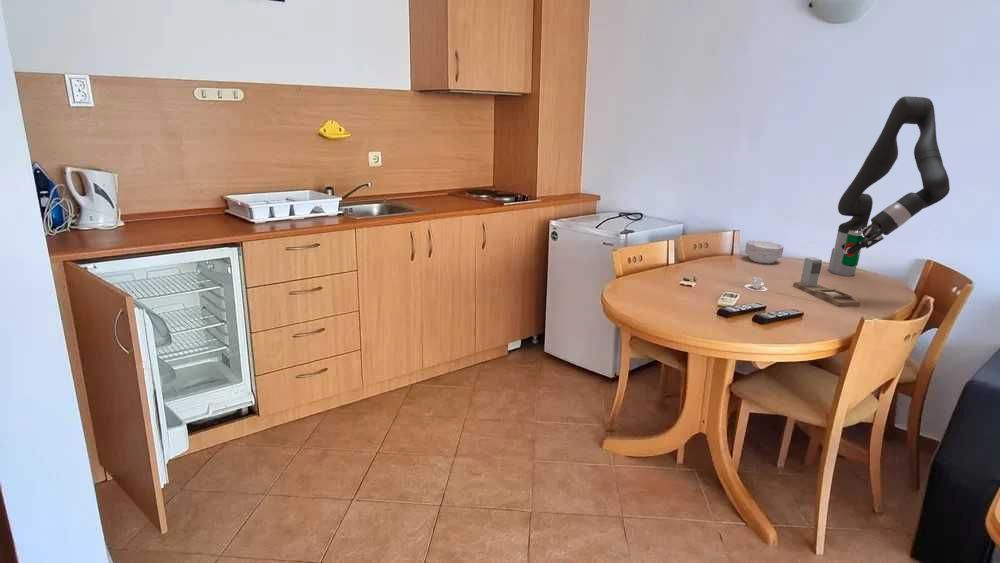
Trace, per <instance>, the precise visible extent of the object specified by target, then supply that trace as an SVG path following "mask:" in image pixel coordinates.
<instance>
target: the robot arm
mask: <svg viewBox="0 0 1000 563" xmlns="http://www.w3.org/2000/svg"><path fill="white" fill-rule="evenodd" d="M903 125H916V126H918V129H919V132H920V134H919V137H918V139H917V142H916V143H915V146H914V148H913V149H914V150H913V156H914V160H915V164H916V167H917V170H918V171H919V173H920V179H921V183H922V189H920V190H918V191H916V192H908V193H906V194H904V195H903V196H902V197H901V198H899V199H897V200H896V201H895V202H893V203H892V204H889V205H888V206H887V207H885V208H884V209H882V210H880V212H878V213H877V214H876V215H875V216H873V217H872V218H870V217H871V212H872V209H873V202H874V201H873V197H872V196H871V195H870V194H868V193H864V192H865V191H866V190H867V189H868V188H870V187H871V186H872V185H873V184H875V183H877V182H879V181H880V180H882V179H883V178H884V177H885V176H887V174H889V172H890V171H891V170H892V168H893V166H894V165H895V162H896V161H897V160H898V156H899V147H898V138H897V137H898V135H899V132H900V130H901V128H902V127H903ZM937 138H938V137H937V125H936V114H935V106H934V103H933V101H932V100H931V99H930V98H928V97H924V96H923V97H922V96H908V95H907V96H901V97H900V98H899V99H898V100H897V101H896V102H895V103H894V104H893V107H892V109H891V111H890V113H889V115H888V117H887V120H886V122H885V124H884V127H883V128H882V131H881V132H880V134H879V136H878V138H877V140H876V142H875V143H874V145H873V147H872V148H871V150H870V151H869V152H868V155H867V156H866V158H865V159H864V162H863V163H862V166H861V167H860V168H859V170H858V172H857V174H856V176H855V177H854V178H853V180H852V181H851V183H850V184H849V185H848V186H847V188H846V189H845V191H844V192H843V193H842V196H841V197H840V198H839V201H838V205H837V211H838V213H839V214H840V215H842V216H846V217H851V219H849V220H848V221H846V222H842V223H840V224H839V225H838V228H837V229H838V230H837V234H836V239H835V243H834V247H833V248H832V249H831V254H830V259H829V264H828V271H829V272H830V273H832V274H835V275H838V276H845V277H846V276H847V277H848V276H849V277H853V276H855V275H856V270H857V266H855V267H850V266H845V265H843V264H842V263H841V261H842V256H843V251H844V247H845V242H846V237H847V233H848V232H849V231H850V230H856V231H861V232H863V236H862V239H861V240H860V241H859V242H858V243H859V244H858V243H856V244H855V245H853V246H852V247H851V248H849V249H848V251H849V252H850V254H854V253H856V252H857V251H858V250H860V249H861V250H862V249H865V248H866V249H869V248H870V247H872V246H874V245H876V244H878V243H879V242H881V241H883V240H884V239H885V238H884V236H889V235H890V234H891V233H892V232H894V231H896V230H897V229H898V228H900V227H901V226H903V225H904V224H905V223H907V222H908V221H909V220H910V219H911V218H913V217H914V216H915V215H917V214H918V213H920V212H921V211H922V210H924V209H926V208H929V207H930V206H933V205H935V204H937V203H938V202H941V201H942V200H944V198H946V197H947V196H948V195H949V193H950V189H951V188H950V179H949V175H948V173H947V170H946V168H945V166H944V164H943V159H942V155H941V152H940V149H939V145H938V139H937ZM869 219H870V220H869ZM869 221H871V223H870V224H869ZM868 224H869V225H868ZM883 235H884V236H883ZM852 275H853V276H852Z"/></svg>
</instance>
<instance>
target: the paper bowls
mask: <svg viewBox="0 0 1000 563" xmlns="http://www.w3.org/2000/svg"><path fill="white" fill-rule="evenodd" d="M744 251H745V254H747V255H748V258H749V259H750V260H751V261H752V262H755V263H758V264H759V263H760V264H774V263H776V261H777V259H781V258H782V257H783V252H784V245H782V244H780V243H778V242H774V241H767V240H762V239H761V240H760V239H759V240H758V239H751V240H747V241H746V244H745V249H744Z"/></svg>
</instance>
